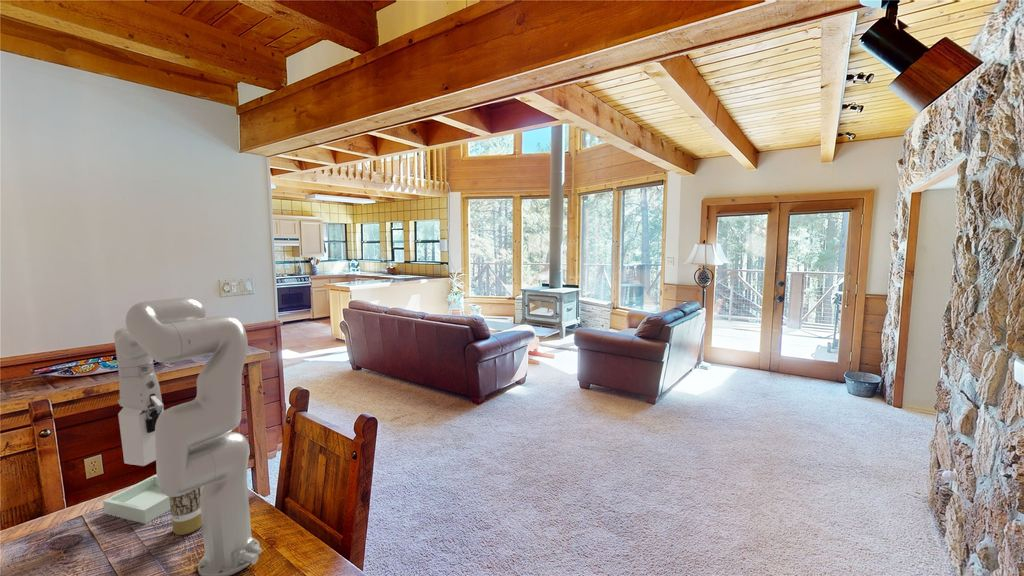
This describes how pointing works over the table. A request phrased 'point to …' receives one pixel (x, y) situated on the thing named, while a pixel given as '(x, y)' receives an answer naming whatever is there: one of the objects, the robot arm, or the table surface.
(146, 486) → the tray
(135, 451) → the milk carton
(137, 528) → the table surface
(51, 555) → the table surface
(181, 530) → the paper tube
